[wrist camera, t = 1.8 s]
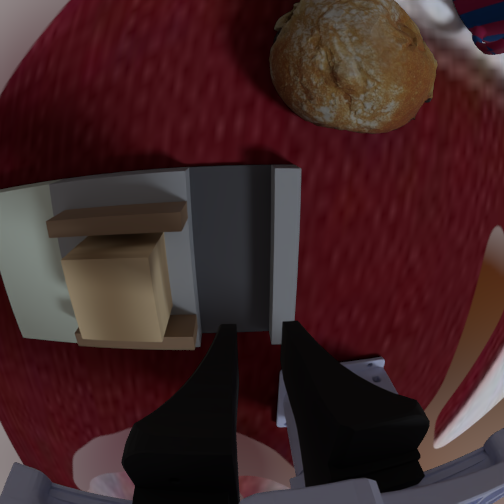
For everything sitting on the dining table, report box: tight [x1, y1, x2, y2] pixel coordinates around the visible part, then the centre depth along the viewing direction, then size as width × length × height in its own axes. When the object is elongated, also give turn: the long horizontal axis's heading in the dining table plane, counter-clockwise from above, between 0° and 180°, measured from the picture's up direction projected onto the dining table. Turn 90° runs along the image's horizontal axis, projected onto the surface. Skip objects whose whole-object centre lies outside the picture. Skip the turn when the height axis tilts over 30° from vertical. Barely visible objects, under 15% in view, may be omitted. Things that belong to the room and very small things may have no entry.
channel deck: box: [0, 165, 301, 350], centre depth 19 cm, size 22×12×4 cm, turn 90°
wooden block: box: [61, 232, 173, 342], centre depth 17 cm, size 5×5×4 cm
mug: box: [453, 0, 504, 55], centre depth 12 cm, size 7×10×7 cm
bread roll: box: [269, 0, 437, 134], centre depth 15 cm, size 10×10×8 cm
